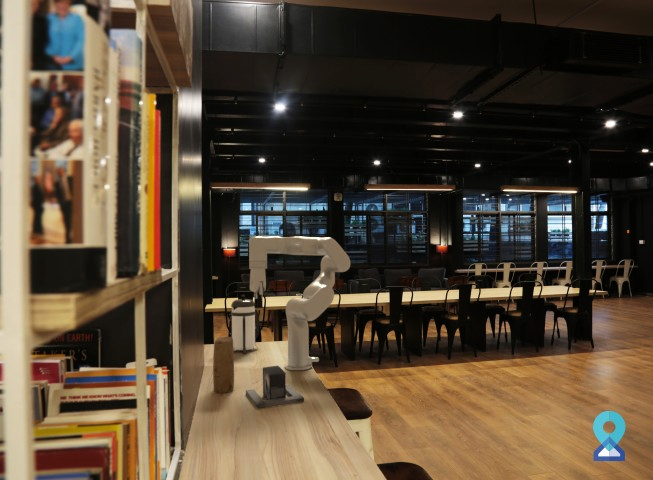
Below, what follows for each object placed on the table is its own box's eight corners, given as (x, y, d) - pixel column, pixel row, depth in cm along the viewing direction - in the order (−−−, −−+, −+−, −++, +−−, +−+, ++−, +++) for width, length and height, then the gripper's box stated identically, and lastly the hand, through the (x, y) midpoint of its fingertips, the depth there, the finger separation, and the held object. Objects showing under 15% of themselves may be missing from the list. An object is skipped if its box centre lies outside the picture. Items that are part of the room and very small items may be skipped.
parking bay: (289, 388, 175) (289, 384, 175) (304, 401, 159) (304, 397, 159) (246, 394, 168) (246, 390, 168) (257, 409, 153) (257, 404, 153)
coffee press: (259, 353, 234) (259, 295, 235) (228, 354, 232) (228, 296, 232) (259, 346, 251) (258, 292, 252) (230, 347, 249) (229, 293, 249)
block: (232, 393, 169) (232, 340, 169) (212, 394, 168) (211, 341, 169) (235, 385, 180) (235, 334, 180) (216, 385, 179) (216, 335, 179)
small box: (261, 395, 167) (261, 366, 167) (278, 393, 170) (278, 365, 170) (268, 404, 157) (268, 374, 158) (286, 401, 160) (286, 372, 160)
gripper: (245, 264, 199) (246, 306, 199) (253, 265, 185) (254, 310, 185) (262, 264, 202) (262, 305, 201) (271, 265, 188) (271, 309, 188)
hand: (258, 307), depth 193 cm, fingers closed
